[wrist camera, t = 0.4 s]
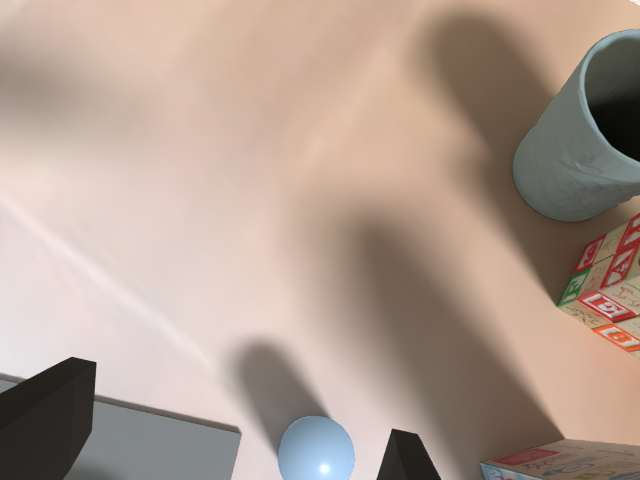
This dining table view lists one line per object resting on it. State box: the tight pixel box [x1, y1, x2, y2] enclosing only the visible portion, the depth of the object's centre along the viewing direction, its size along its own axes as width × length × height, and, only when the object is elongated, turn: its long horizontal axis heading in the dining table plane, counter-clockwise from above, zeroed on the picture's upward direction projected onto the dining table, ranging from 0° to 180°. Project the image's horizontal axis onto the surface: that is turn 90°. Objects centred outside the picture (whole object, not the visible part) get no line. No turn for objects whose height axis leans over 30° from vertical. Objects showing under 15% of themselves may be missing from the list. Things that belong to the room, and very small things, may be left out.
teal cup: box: [512, 29, 640, 222], centre depth 39 cm, size 10×10×12 cm
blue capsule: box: [278, 416, 355, 480], centre depth 34 cm, size 4×4×6 cm
